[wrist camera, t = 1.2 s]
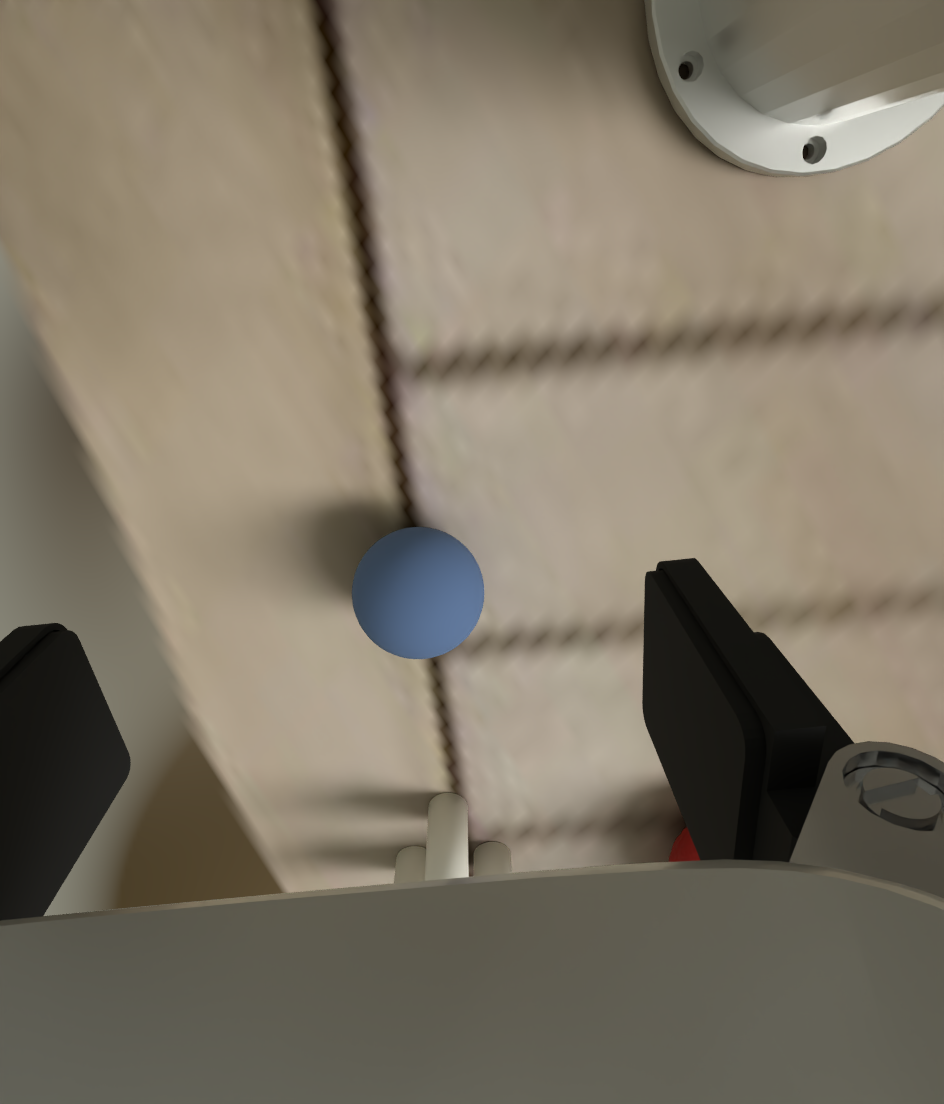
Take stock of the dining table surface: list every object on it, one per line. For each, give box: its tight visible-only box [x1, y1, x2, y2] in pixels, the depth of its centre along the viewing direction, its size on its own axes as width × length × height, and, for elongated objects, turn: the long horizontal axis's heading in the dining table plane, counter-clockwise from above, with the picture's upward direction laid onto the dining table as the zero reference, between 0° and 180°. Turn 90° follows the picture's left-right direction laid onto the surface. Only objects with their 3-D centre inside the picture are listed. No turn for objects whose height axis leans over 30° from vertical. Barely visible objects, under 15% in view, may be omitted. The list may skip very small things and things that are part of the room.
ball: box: [352, 527, 484, 659], centre depth 29 cm, size 6×6×6 cm
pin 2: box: [473, 842, 512, 876], centre depth 38 cm, size 2×2×8 cm
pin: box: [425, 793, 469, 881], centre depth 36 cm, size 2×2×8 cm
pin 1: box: [394, 846, 426, 883], centre depth 38 cm, size 2×2×8 cm
